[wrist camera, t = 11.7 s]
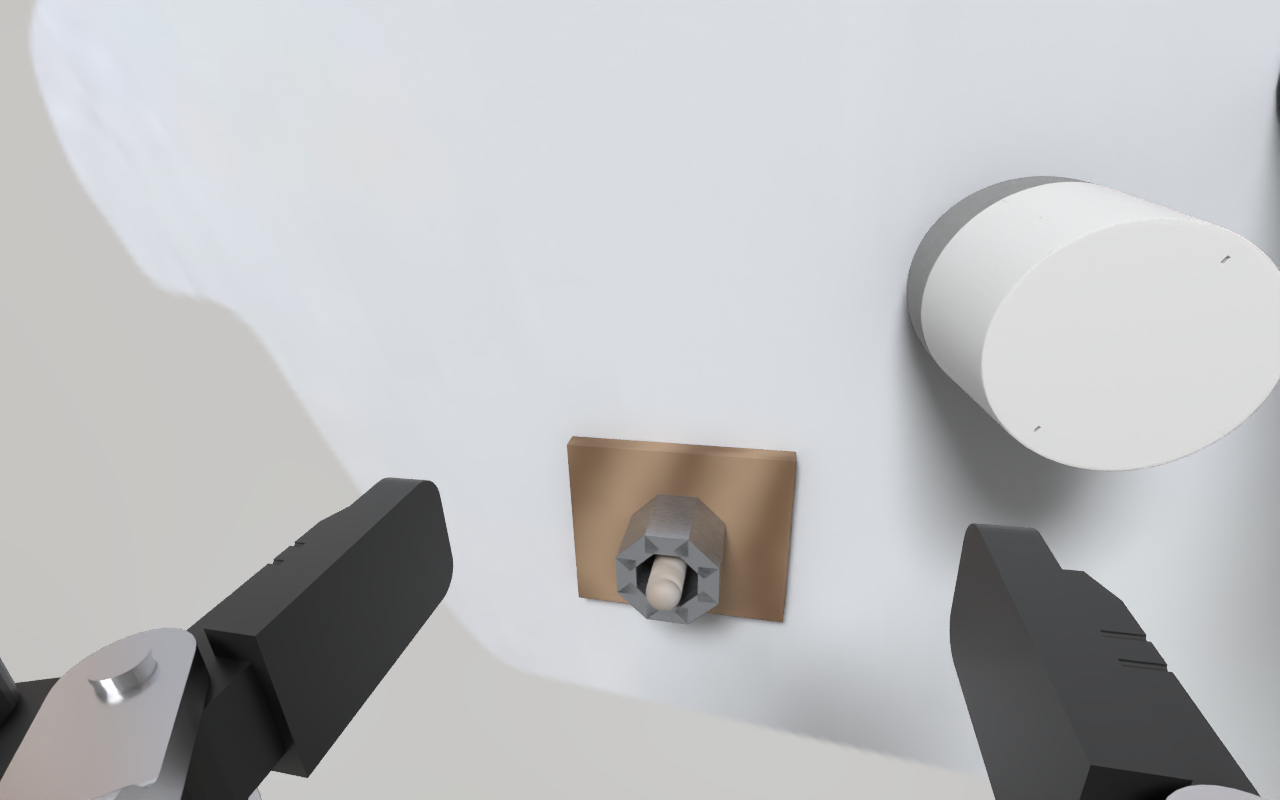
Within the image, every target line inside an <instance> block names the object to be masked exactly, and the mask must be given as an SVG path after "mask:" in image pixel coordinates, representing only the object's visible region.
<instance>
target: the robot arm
mask: <svg viewBox="0 0 1280 800" xmlns="http://www.w3.org/2000/svg"><path fill="white" fill-rule="evenodd" d="M452 573H453V558H452V553H451V548H450V543H449V538H448V533H447V528H446V523H445V518H444V513H443V508H442V503H441V498H440V494H439V491H438V488H437V487H436V485H435V484H434V483H433V482H431V481H427V480H414V479H401V478H384V479H382V480H381V481H379V482H378V483H377V484H376V485H374V486H373V487H372V488H371V489H370V490H368V491H367V492H366V493H365V494H364V495H362V496H361V497H360V498H359V499H358V500H356V501H355V502H354V503H353V504H352V505H350V506H349V507H347V508H345V509H343V510H341V511H339V512H337V513H335V514H334V515H332V516H330V517H328V518H326V519H324V520H322V521H320V522H319V523H318V524H316V525H315V526H314V527H313V528H311V529H310V530H309V531H308V532H307V533H305V534H304V535H303V536H302V537H300V538H299V539H298V540H297V541H295V545H294V546H289V547H288V548H287V549H286V550H285V551H283V552H282V553H281V554H280V555H278V556H277V557H276V558H275V559H274V562H273V564H267V565H266V566H265V567H264V568H262V569H261V570H260V571H259V572H258V573H256V574H255V575H254V576H253V577H251V578H250V579H249V580H248V581H246V582H245V583H244V584H243V585H242V586H240V587H239V588H238V589H237V590H235V591H234V592H233V593H232V594H231V595H230V596H228V597H227V598H226V599H224V600H223V601H222V602H221V603H220V604H218V605H217V606H216V607H215V608H213V609H212V610H211V611H210V612H208V613H207V614H206V615H205V616H204V617H202V618H201V619H200V620H199V621H197V622H196V623H195V624H194V625H193V626H191V627H190V628H189V629H188V630H187V631H186V630H182V629H177V628H161V629H154V630H149V631H145V632H141V633H138V634H134V635H131V636H128V637H126V638H124V639H121V640H118V641H116V642H114V643H112V644H110V645H108V646H105V647H103V648H102V649H100V650H98V651H96V652H95V653H93V654H91V655H90V656H88V657H86V658H85V659H83V660H82V661H80V662H79V663H78V664H77V665H75V666H74V667H73V668H71V669H70V670H69V671H68V672H67V673H66V674H65V675H63V676H62V677H60V678H52V679H44V680H36V681H29V682H20V683H14V681H13V679H12V677H11V676H10V674H9V672H8V671H7V669H6V667H5V666H4V664H3V662H2V660H1V659H0V800H262V799H261V795H260V792H259V790H258V788H257V787H258V786H259V784H260V783H261V782H262V781H263V779H264V778H265V777H266V776H267V775H268V774H269V772H270V771H276V772H281V773H286V774H291V775H296V776H301V777H306V778H308V777H309V775H310V774H311V773H312V772H313V770H314V769H315V768H316V766H317V765H318V764H319V762H320V761H321V760H322V758H323V757H324V756H325V754H326V753H327V752H328V750H329V749H330V748H331V746H332V745H333V744H334V742H335V741H336V740H337V738H338V737H339V736H340V735H341V733H342V732H343V731H344V729H345V728H346V727H347V725H348V724H349V722H350V721H351V720H352V719H353V717H354V716H355V715H356V713H357V712H358V711H359V709H360V708H361V707H362V705H363V704H364V703H365V701H366V700H367V699H368V698H369V696H370V695H371V694H372V692H373V691H374V690H375V688H376V687H377V686H378V684H379V683H380V681H381V680H382V679H383V678H384V676H385V675H386V674H387V672H388V671H389V670H390V668H391V667H392V666H393V664H394V663H395V662H396V660H397V659H398V658H399V656H400V655H401V654H402V652H403V651H404V650H405V649H406V647H407V646H408V645H409V643H410V642H411V641H412V639H413V638H414V636H415V635H416V634H417V633H418V631H419V630H420V629H421V627H422V626H423V625H424V623H425V622H426V621H427V619H428V618H429V617H430V615H431V614H432V613H433V611H434V610H435V609H436V607H437V606H438V605H439V604H440V602H441V601H442V600H443V598H444V597H445V595H446V593H447V591H448V588H449V586H450V583H451V579H452ZM950 644H951V652H952V657H953V662H954V665H955V668H956V672H957V675H958V678H959V682H960V685H961V688H962V691H963V695H964V698H965V701H966V704H967V708H968V711H969V714H970V718H971V721H972V724H973V727H974V731H975V734H976V737H977V740H978V744H979V747H980V750H981V754H982V757H983V760H984V763H985V767H986V770H987V773H988V777H989V780H990V783H991V786H992V790H993V793H994V796H995V799H996V800H1267V799H1264V798H1262V797H1260V795H1259V794H1258V792H1257V791H1256V789H1255V788H1254V787H1253V785H1252V784H1251V782H1250V781H1249V780H1248V778H1247V777H1246V775H1245V774H1244V772H1243V771H1242V770H1241V768H1240V767H1239V765H1238V764H1237V763H1236V761H1235V760H1234V758H1233V757H1232V756H1231V754H1230V753H1229V751H1228V750H1227V748H1226V747H1225V746H1224V744H1223V743H1222V741H1221V740H1220V739H1219V737H1218V736H1217V734H1216V733H1215V732H1214V730H1213V729H1212V727H1211V726H1210V724H1209V723H1208V722H1207V720H1206V719H1205V717H1204V716H1203V715H1202V713H1201V712H1200V710H1199V709H1198V708H1197V706H1196V705H1195V703H1194V702H1193V700H1192V699H1191V698H1190V696H1189V695H1188V693H1187V692H1186V691H1185V689H1184V688H1183V686H1182V685H1181V684H1180V682H1179V681H1178V679H1177V678H1176V676H1175V675H1174V674H1173V672H1168V671H1167V664H1166V662H1165V661H1164V659H1163V658H1162V657H1161V655H1160V654H1159V652H1158V651H1157V650H1156V648H1155V647H1154V645H1153V644H1152V643H1151V642H1147V641H1146V634H1145V633H1144V631H1143V630H1142V628H1141V627H1140V626H1139V624H1138V623H1137V621H1136V620H1135V619H1134V617H1133V616H1132V614H1131V613H1130V611H1129V610H1128V609H1127V607H1126V606H1125V604H1124V603H1123V602H1122V601H1121V600H1120V599H1119V598H1118V597H1116V596H1115V595H1114V594H1112V593H1111V592H1110V591H1108V590H1107V589H1106V588H1105V587H1103V586H1102V585H1101V584H1099V583H1098V582H1097V581H1095V580H1094V579H1093V578H1092V577H1090V576H1089V575H1088V574H1086V573H1085V572H1084V571H1074V570H1063V569H1061V567H1060V565H1059V564H1058V562H1057V560H1056V559H1055V557H1054V556H1053V554H1052V552H1051V551H1050V549H1049V548H1048V546H1047V544H1046V543H1045V541H1044V540H1043V538H1042V536H1041V535H1040V533H1039V532H1038V531H1037V530H1036V529H1033V528H1024V527H1011V526H998V525H985V524H971V525H969V527H968V528H967V530H966V533H965V537H964V542H963V547H962V553H961V558H960V564H959V570H958V575H957V581H956V587H955V592H954V598H953V603H952V609H951V615H950Z"/></svg>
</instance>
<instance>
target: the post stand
mask: <svg viewBox="0 0 1280 800" xmlns="http://www.w3.org/2000/svg"><path fill="white" fill-rule="evenodd" d="M567 451H568V464H569V476H570V489H571V502H572V515H573V528H574V540H575V553H576V566H577V579H578V592H579V597H581V598H589V599H597V600H605V601H614V602H622V603H629V602H627V601H626V600H625V599H624V598H623V597H622V596H621V595H620V594H619V593H617V578H616V555H617V553H618V550H619V548H620V545H621V542H622V540H623V537H624V534H625V532H626V529H627V527H628V524H629V521H630V519H631V516H632V515H633V514H634V513H635V512H636V511H638V510H639V509H640V508H641V507H643V506H644V505H645V504H646V503H648V502H649V501H650V500H651V499H653V498H654V497H655V496H656V495H657V494H666V495H678V496H690V497H698V498H699V499H700V500H701V501H702V502H703V503H704V504H705V505H706V506H707V507H709V508H710V509H711V510H712V511H713V512H714V513H715V514H716V515H717V516H718V517H719V518H720V519H721V520H722V521H723V522H724V523H725V552H724V563H723V571H722V579H721V587H720V596H719V604H718V605H716V606H715V607H713V608H712V609H710V610H709V611H707V612H706V613H712V614H720V615H729V616H737V617H745V618H753V619H761V620H770V621H778V622H783V614H784V602H785V590H786V578H787V566H788V554H789V542H790V530H791V518H792V507H793V495H794V483H795V471H796V452H788V451H774V450H760V449H745V448H731V447H717V446H702V445H688V444H674V443H659V442H645V441H631V440H616V439H602V438H588V437H572V438H571V440H570V441H569V443H568V444H567ZM687 565H688V564H687V563H686V562H685V561H684V560H683V559H682V558H681V557H678V556H669V555H659V554H656V556H655V559H654V563H653V566H652V570H651V573H650V577H649V580H648V584H647V587H646V598H647V600H648V602H649V604H650V605H651V606H652V607H653V608H655V609H656V610H659V611H668V610H671V609H673V608H674V607H675V606H676V605H677V604H678V603H679V601H680V598H681V594H682V589H683V584H684V579H685V574H686V570H687Z"/></svg>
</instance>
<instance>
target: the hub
mask: <svg viewBox="0 0 1280 800" xmlns="http://www.w3.org/2000/svg"><path fill="white" fill-rule="evenodd" d="M724 552H725V523H724V522H723V521H722V520H721V519H720V518H719V517H718V516H717V515H716V514H715V513H714V512H713V511H712V510H711V509H710V508H709V507H707V506H706V505H705V504H704V503H703V502H702V501H701V500H700V499H699V498H698V497H690V496H678V495H666V494H657V495H656V496H655V497H654V498H653V499H651V500H650V501H649V502H648V503H646V504H645V505H644V506H643V507H641V508H640V509H639V510H638V511H636V512H635V513H634V514H633V515H632V516H631V519H630V521H629V524H628V527H627V529H626V532H625V534H624V537H623V540H622V542H621V545H620V548H619V550H618V553H617V555H616V578H617V593H619V594H620V595H621V596H622V597H623V598H624V599H625V600H626V601H627V602H629V603H630V604H631V605H632V606H633V607H634V608H635V609H636V610H637V611H639V612H640V613H641V614H642V615H643V616H644V617H645V618H646V619H651V620H659V621H667V622H675V623H683V624H689V623H691V622H692V621H694V620H695V619H697V618H698V617H700V616H701V615H703V614H704V613H706V612H707V611H709V610H710V609H712V608H713V607H715V606H716V605H718V604H719V596H720V587H721V579H722V571H723V563H724ZM656 554H659V555H669V556H678V557H681V558H682V559H683V560H684V561H685V562H686V563H687V564H688V565H687V570H686V574H685V579H684V584H683V589H682V594H681V598H680V601H679V603H678V604H677V605H676V606H675V607H674V608H673V609H671V610H668V611H659V610H656V609H655V608H653V607H652V606H651V605H650V604H649V602H648V600H647V598H646V587H647V584H648V580H649V577H650V573H651V570H652V566H653V563H654V559H655V556H656Z"/></svg>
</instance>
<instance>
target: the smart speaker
mask: <svg viewBox="0 0 1280 800" xmlns="http://www.w3.org/2000/svg"><path fill="white" fill-rule="evenodd" d="M907 305H908V311H909V315H910V319H911V322H912V325H913V328H914V330H915V332H916V334H917V336H918V338H919V340H920V342H921V343H922V345H923V346H924V348H925V349H926V351H927V352H928V353H929V355H930V356H931V357H932V358H933V360H934V361H935V362H936V363H937V364H938V365H939V367H940V368H941V369H942V370H943V371H944V372H945V373H946V374H947V375H948V376H949V377H950V378H951V379H952V380H953V381H954V382H955V383H956V384H958V385H959V386H960V387H961V388H962V389H963V390H964V391H965V392H966V393H967V394H968V395H969V396H970V397H971V398H972V399H973V400H974V401H975V402H976V403H977V404H978V405H979V406H980V407H982V408H983V409H984V410H985V411H986V412H987V413H988V414H989V415H990V416H991V417H992V418H993V419H994V420H995V421H996V422H997V423H998V424H999V425H1000V426H1001V427H1002V428H1003V429H1004V430H1006V431H1007V432H1008V433H1009V434H1010V435H1011V436H1012V437H1013V438H1015V439H1016V440H1017V441H1018V442H1020V443H1021V444H1022V445H1024V446H1025V447H1027V448H1028V449H1030V450H1031V451H1033V452H1035V453H1037V454H1039V455H1041V456H1043V457H1045V458H1047V459H1050V460H1053V461H1055V462H1058V463H1061V464H1065V465H1068V466H1072V467H1077V468H1082V469H1089V470H1100V471H1127V470H1136V469H1144V468H1149V467H1154V466H1159V465H1162V464H1166V463H1169V462H1172V461H1175V460H1178V459H1181V458H1184V457H1186V456H1189V455H1191V454H1193V453H1195V452H1198V451H1200V450H1202V449H1204V448H1205V447H1207V446H1209V445H1211V444H1213V443H1215V442H1216V441H1218V440H1219V439H1221V438H1222V437H1224V436H1226V435H1227V434H1229V433H1230V432H1231V431H1233V430H1234V429H1235V428H1237V427H1238V426H1239V425H1241V424H1242V423H1243V422H1244V421H1245V420H1246V419H1247V418H1248V417H1249V416H1250V415H1252V414H1253V413H1254V412H1255V411H1256V410H1257V409H1258V408H1259V407H1260V405H1261V404H1262V403H1263V402H1264V401H1265V399H1266V398H1267V397H1268V396H1269V394H1270V393H1271V391H1272V390H1273V389H1274V387H1275V386H1276V384H1277V382H1278V381H1279V379H1280V271H1279V270H1278V268H1277V267H1276V266H1275V264H1274V263H1273V261H1272V260H1271V259H1270V258H1269V257H1268V256H1267V255H1266V254H1265V253H1264V252H1263V251H1262V250H1260V249H1259V248H1258V247H1257V246H1255V245H1254V244H1253V243H1251V242H1250V241H1248V240H1247V239H1245V238H1244V237H1242V236H1240V235H1238V234H1236V233H1234V232H1232V231H1230V230H1227V229H1225V228H1223V227H1220V226H1218V225H1215V224H1212V223H1210V222H1207V221H1204V220H1201V219H1198V218H1195V217H1192V216H1189V215H1187V214H1184V213H1181V212H1178V211H1175V210H1172V209H1169V208H1166V207H1164V206H1161V205H1158V204H1155V203H1152V202H1149V201H1146V200H1143V199H1140V198H1138V197H1135V196H1132V195H1129V194H1126V193H1123V192H1120V191H1117V190H1114V189H1112V188H1109V187H1105V186H1102V185H1098V184H1094V183H1090V182H1085V181H1081V180H1076V179H1071V178H1063V177H1050V176H1037V177H1026V178H1019V179H1013V180H1009V181H1005V182H1001V183H998V184H995V185H992V186H989V187H987V188H984V189H982V190H980V191H978V192H976V193H974V194H972V195H970V196H968V197H966V198H965V199H963V200H962V201H960V202H958V203H957V204H956V205H954V206H953V207H952V208H950V209H949V210H948V211H947V212H946V213H945V214H943V215H942V216H941V217H940V218H939V219H938V220H937V221H936V223H935V224H934V225H933V226H932V227H931V228H930V230H929V231H928V232H927V234H926V235H925V237H924V238H923V240H922V241H921V243H920V245H919V247H918V249H917V251H916V253H915V255H914V258H913V260H912V263H911V266H910V270H909V275H908V282H907Z"/></svg>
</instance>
